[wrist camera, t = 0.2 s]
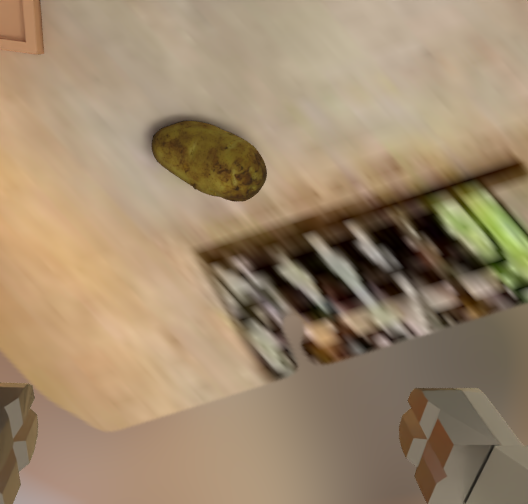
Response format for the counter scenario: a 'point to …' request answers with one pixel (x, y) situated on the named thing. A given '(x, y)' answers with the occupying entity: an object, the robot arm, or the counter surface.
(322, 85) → the counter surface
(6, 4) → the tray
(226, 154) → the potato
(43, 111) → the counter surface
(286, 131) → the counter surface
